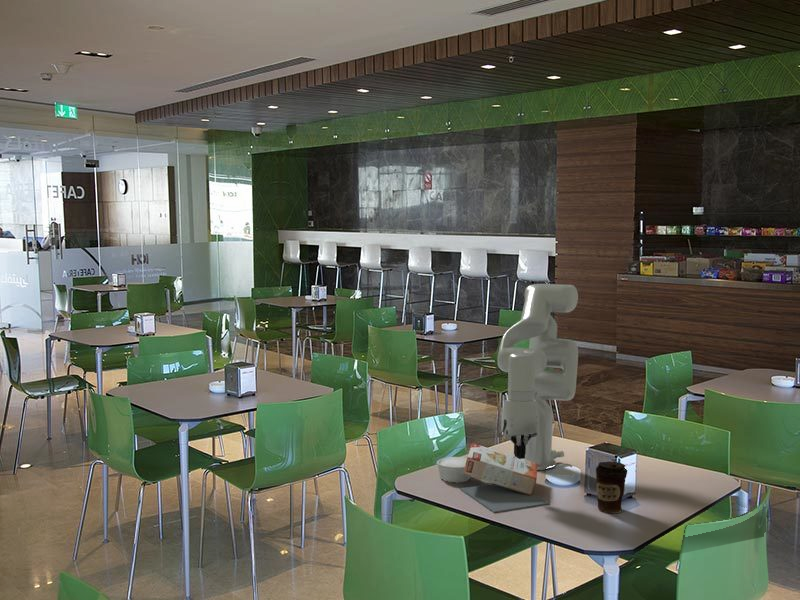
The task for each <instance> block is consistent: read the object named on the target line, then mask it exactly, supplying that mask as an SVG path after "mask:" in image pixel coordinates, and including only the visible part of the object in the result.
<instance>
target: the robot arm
mask: <svg viewBox="0 0 800 600" xmlns="http://www.w3.org/2000/svg"><path fill="white" fill-rule="evenodd" d="M578 300H579V293H578V290H577V287H576V286H574V285H573V284H559V283H558V284H557V283H556V284H554V283H534V284H533V283H532V284H530V285H528V286H526V288H525V290H524V302H523V309H522V312H521V316H520V317H521V318H520V320H519V321H517V322H516V323H514V324H513V325H512V326H511V327H509V329H507V330H506V332H505V333H504V334H503V336H502V338H501V340H500V344H499V347H498V348H499V349H498V352H497V360H496V361H497V367H498V368H499V369H500V370H501V371H502V372H505V373H508V375H507V377H508V378H507V379H508V380H507V399H505V400H504V403H503V408H502V413H501V414H502V415H501V423H500V424H501V427H500V428H501V432H502V433H503V434H502V435H503V436H502V438H503V439H504V440H506V441H507V440H508V441H511V443H512V444H513V456H515V457H517V458H518V459H525V460H528V461H532V462H535V463H537V471H546V470H545V469H546V468H547V467H549V466H553V465H556V466H557V461H556V459H557V458H563V457H565V452H564V450H560V451H556V450H555V449H552V448H553V447H552V442H553V441H552V440H553V410H552V408H551V407H550V405H549V403H548V402H547V401H548V400H551V401H552V400H553V401H566V402H568V401H572V400H573V399H574V397H575V394H576V390H577V389H576V388H577V380H578V379H577V378H578V377H577V376H578V363H579V347H578V345H577V343H576V342H575V341H574V340H573V339H568V338H557V336H558V335H557V334H558V333H557V332H558V324H557V322H556V320H555V318H554V317H553V315H551V313H571V312H572V311H574V310H575V309H576V307H577V304H578V303H579V301H578ZM527 340H529V345H528V347H518V346H517V347H514V346H516V345H517V344H518V343H520V342H523V341H527ZM546 368H556V370H555V369H546ZM557 369H559V370H557ZM560 369H561V370H560ZM546 400H547V401H546Z"/></svg>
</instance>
